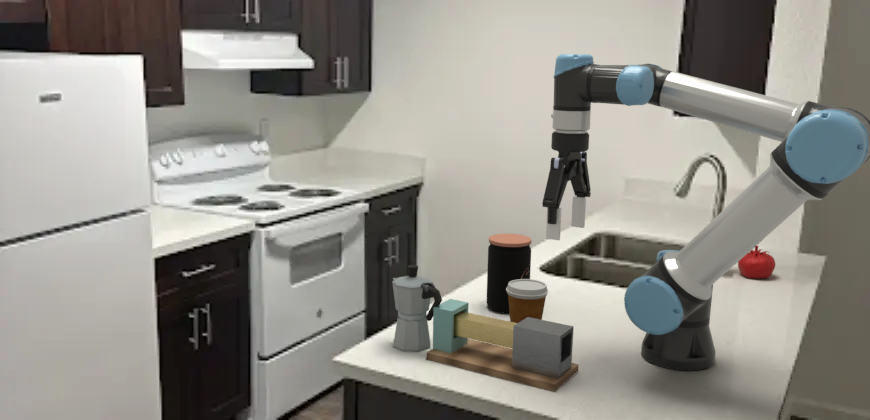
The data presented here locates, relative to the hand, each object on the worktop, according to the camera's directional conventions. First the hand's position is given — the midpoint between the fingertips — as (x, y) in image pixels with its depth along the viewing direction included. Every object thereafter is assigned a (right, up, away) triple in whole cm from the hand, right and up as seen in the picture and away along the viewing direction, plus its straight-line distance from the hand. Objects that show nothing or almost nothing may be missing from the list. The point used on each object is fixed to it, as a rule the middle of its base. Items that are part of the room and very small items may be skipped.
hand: (565, 233), depth 169 cm
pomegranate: (+66, -15, +67) cm, 95 cm away
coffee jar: (-9, -20, +35) cm, 41 cm away
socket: (-24, -24, +4) cm, 34 cm away
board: (-14, -27, -2) cm, 31 cm away
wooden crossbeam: (-16, -22, -1) cm, 27 cm away
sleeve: (-6, -27, -6) cm, 28 cm away
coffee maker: (-32, -25, +8) cm, 41 cm away
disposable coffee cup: (-7, -24, +16) cm, 30 cm away
